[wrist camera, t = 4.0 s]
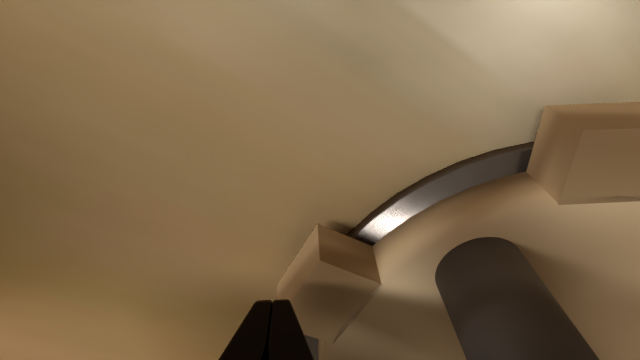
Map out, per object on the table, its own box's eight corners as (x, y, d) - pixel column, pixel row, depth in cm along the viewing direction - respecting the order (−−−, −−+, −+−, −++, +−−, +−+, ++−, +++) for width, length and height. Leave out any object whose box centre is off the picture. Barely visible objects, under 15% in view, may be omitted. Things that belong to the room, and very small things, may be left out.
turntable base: (408, 463, 21) (410, 472, 21) (217, 283, 14) (215, 292, 13) (738, 355, 17) (747, 363, 17) (715, 28, 10) (729, 31, 10)
